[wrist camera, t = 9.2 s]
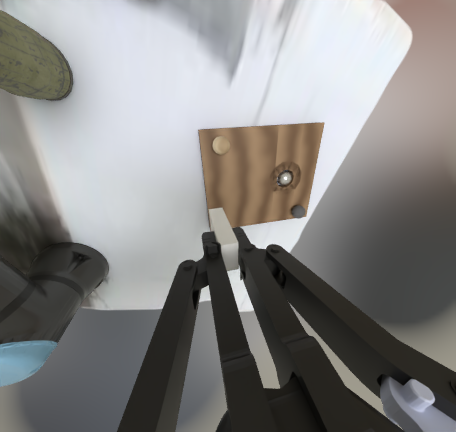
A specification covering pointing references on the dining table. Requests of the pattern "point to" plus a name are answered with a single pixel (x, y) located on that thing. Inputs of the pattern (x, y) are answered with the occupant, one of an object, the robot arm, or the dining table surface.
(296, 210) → the black rubber ball
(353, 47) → the dining table surface
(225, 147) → the beech ball
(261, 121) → the dining table surface
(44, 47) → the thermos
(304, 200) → the walnut plate
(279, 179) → the steel ball
